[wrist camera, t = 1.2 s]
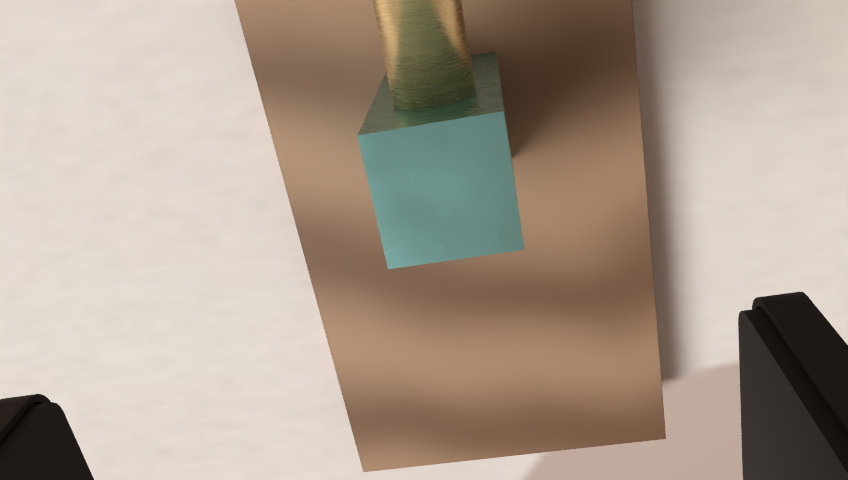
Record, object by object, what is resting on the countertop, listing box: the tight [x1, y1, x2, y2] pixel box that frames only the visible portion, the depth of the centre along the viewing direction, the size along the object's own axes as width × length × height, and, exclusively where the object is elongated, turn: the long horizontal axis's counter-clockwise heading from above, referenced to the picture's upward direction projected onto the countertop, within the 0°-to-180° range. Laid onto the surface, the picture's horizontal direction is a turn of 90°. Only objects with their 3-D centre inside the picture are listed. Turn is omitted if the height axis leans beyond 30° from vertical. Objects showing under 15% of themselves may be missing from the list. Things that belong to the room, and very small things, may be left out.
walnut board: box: [235, 0, 666, 472], centre depth 26 cm, size 31×12×1 cm, turn 11°
